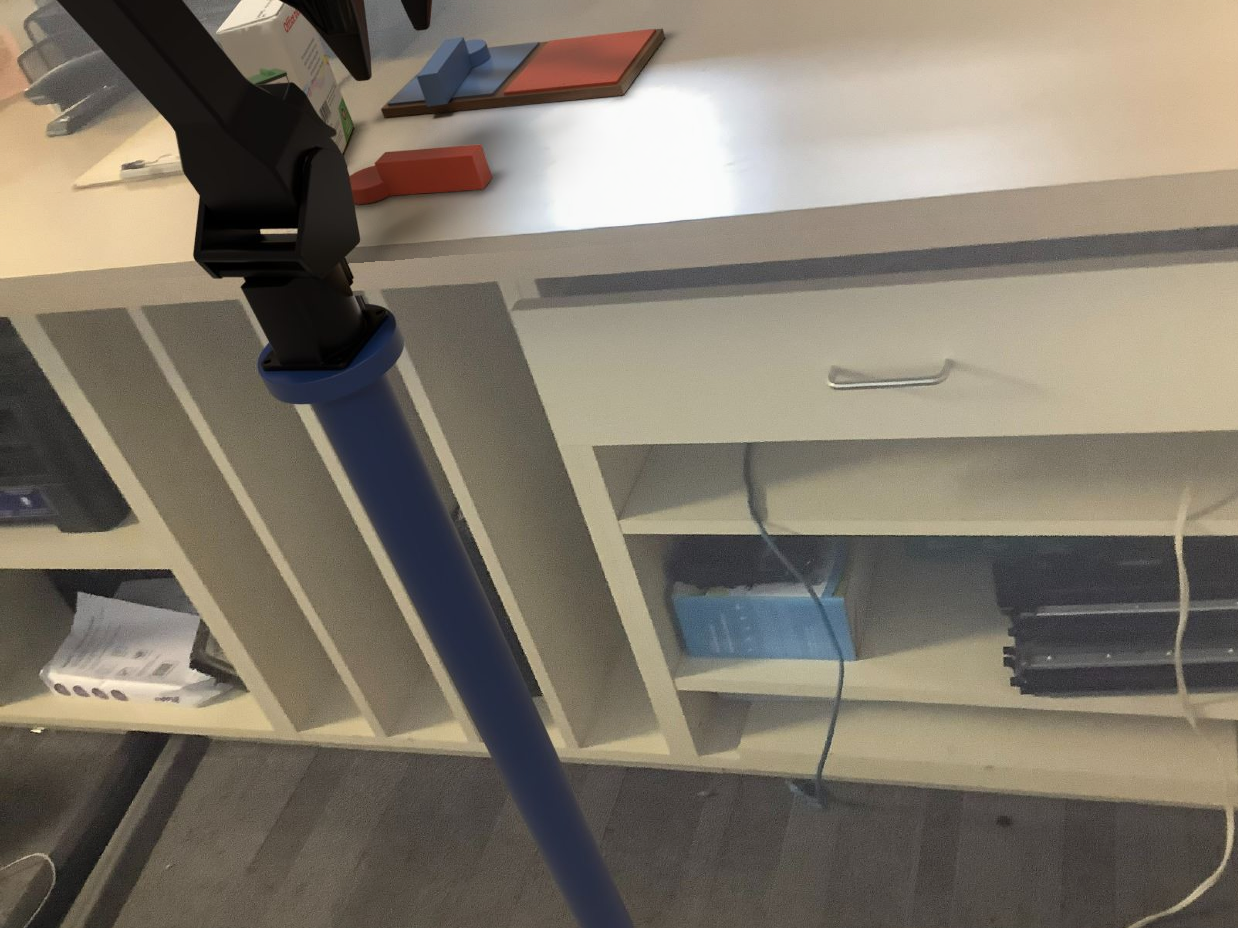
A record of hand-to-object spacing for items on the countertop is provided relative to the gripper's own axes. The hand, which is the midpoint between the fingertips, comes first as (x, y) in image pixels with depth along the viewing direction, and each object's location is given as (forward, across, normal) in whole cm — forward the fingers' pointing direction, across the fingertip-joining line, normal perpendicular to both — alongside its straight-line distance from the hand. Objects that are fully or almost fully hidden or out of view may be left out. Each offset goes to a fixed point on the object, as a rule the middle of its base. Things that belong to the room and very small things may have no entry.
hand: (394, 53), depth 79 cm
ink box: (+9, -7, -14) cm, 18 cm away
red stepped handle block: (+9, +1, -1) cm, 9 cm away
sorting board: (+9, -19, 0) cm, 21 cm away
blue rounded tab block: (+8, -17, -6) cm, 20 cm away
